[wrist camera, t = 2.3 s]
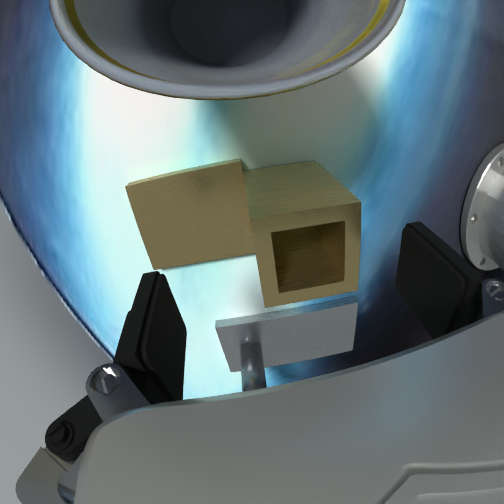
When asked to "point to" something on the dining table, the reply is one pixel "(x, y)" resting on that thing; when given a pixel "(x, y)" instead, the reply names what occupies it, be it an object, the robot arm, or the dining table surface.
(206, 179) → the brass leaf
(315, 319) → the steel leaf with pin
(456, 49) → the dining table surface
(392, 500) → the robot arm
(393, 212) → the dining table surface
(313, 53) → the ceramic cup
